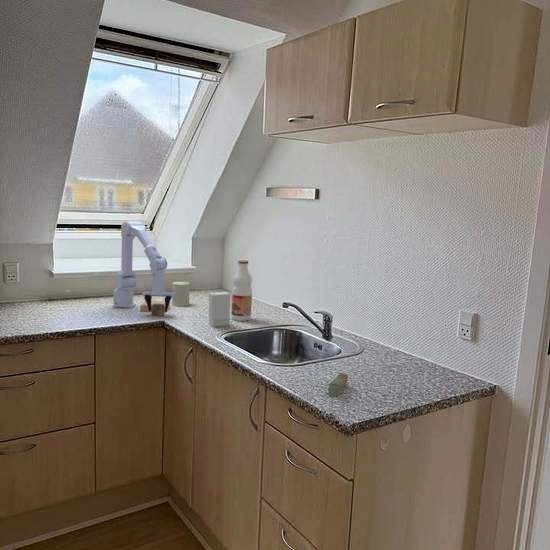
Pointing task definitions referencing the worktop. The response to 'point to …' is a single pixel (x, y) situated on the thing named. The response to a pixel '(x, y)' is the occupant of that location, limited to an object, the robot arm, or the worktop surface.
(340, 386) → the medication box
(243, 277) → the fruit juice
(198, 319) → the worktop surface
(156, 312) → the walnut cube
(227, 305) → the skincare box
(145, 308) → the tan rectangular block
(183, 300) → the can
